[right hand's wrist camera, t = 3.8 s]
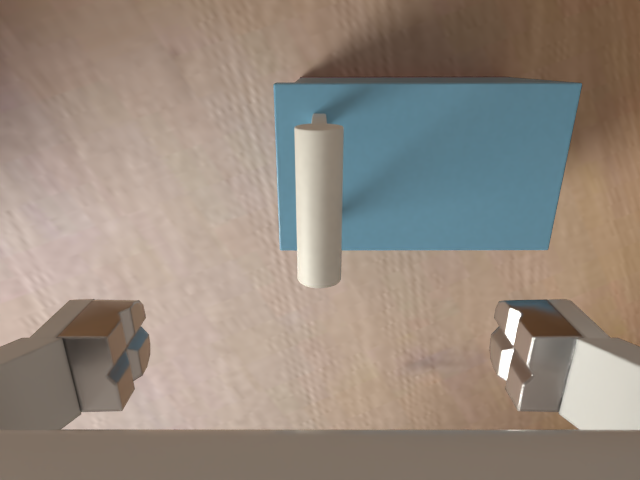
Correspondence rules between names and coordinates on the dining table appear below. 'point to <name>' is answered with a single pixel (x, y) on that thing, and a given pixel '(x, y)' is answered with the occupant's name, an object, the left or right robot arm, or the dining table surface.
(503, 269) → the dining table surface
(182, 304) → the dining table surface
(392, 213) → the lid
